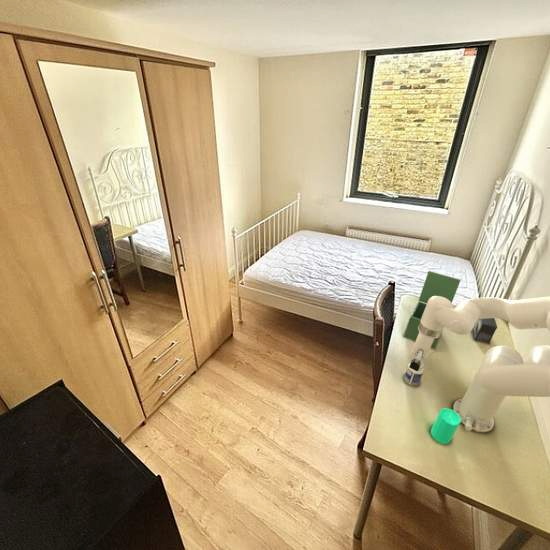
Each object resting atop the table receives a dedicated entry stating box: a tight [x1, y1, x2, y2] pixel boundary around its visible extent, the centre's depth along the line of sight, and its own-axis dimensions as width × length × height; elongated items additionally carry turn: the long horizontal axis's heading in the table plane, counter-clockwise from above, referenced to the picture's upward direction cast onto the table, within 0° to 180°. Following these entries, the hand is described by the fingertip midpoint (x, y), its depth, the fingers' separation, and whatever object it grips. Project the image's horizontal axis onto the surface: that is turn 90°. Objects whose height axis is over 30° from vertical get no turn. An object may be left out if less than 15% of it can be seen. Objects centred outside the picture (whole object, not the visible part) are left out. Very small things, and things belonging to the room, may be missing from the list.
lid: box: [418, 270, 462, 304], centre depth 139 cm, size 16×14×1 cm
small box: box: [472, 318, 498, 345], centre depth 140 cm, size 11×6×10 cm, turn 157°
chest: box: [403, 300, 440, 350], centre depth 140 cm, size 16×14×12 cm
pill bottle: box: [403, 360, 425, 387], centre depth 116 cm, size 6×6×10 cm
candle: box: [430, 407, 462, 445], centre depth 96 cm, size 6×6×12 cm
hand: (416, 361), depth 114 cm, fingers open, 9 cm apart
